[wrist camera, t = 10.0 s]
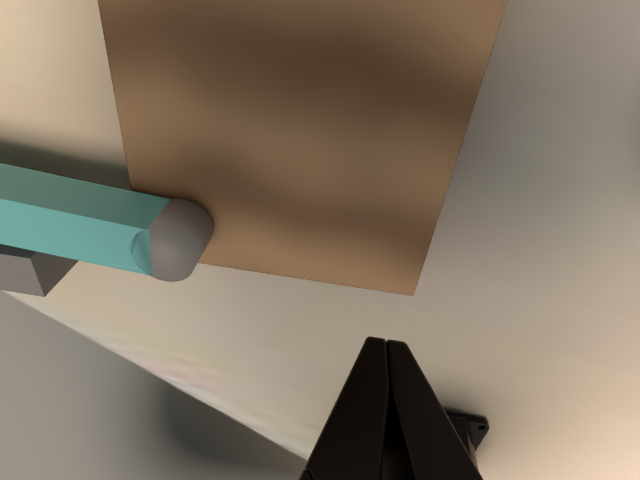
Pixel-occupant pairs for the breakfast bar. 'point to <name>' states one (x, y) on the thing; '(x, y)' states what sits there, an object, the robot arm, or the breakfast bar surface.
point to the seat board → (302, 124)
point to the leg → (101, 224)
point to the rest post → (31, 270)
